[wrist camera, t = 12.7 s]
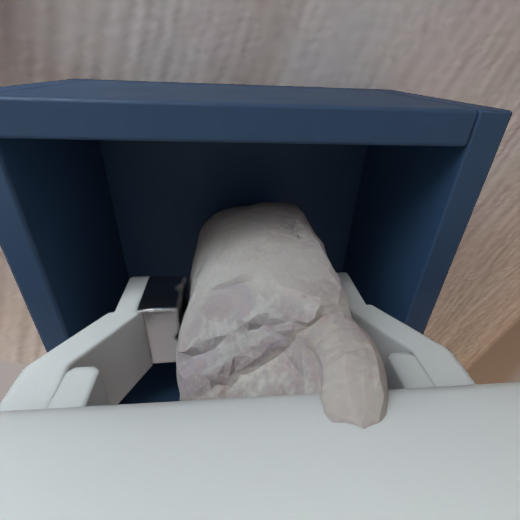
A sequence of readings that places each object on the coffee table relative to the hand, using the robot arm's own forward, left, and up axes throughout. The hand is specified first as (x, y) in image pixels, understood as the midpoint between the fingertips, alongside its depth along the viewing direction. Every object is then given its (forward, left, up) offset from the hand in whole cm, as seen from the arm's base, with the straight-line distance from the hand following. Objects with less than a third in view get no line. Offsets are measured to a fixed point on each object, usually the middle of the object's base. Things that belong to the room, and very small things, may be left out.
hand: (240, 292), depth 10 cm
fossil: (0, 0, -4) cm, 4 cm away
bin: (0, 0, -4) cm, 4 cm away
